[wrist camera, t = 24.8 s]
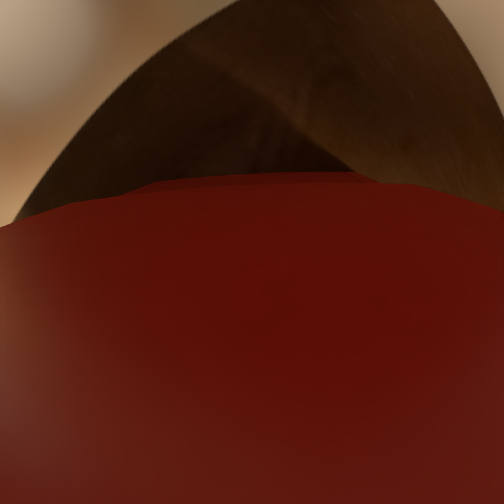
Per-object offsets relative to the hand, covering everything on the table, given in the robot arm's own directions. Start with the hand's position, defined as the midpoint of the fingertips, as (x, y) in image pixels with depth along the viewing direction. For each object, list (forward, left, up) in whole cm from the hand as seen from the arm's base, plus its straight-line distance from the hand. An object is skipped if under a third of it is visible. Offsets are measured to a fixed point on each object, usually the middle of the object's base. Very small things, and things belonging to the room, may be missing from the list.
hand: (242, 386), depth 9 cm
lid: (-4, -4, +5) cm, 8 cm away
